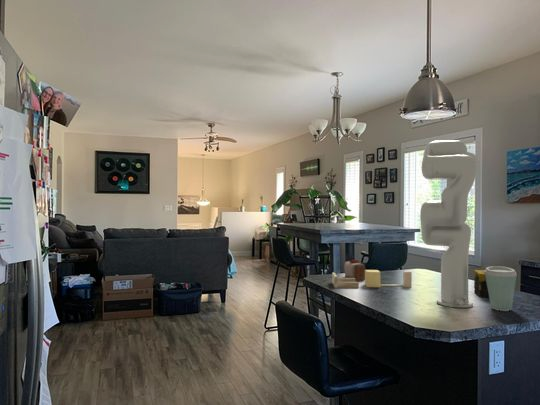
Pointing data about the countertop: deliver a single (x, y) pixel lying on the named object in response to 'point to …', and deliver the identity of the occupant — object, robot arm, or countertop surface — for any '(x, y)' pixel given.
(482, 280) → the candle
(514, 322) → the countertop surface
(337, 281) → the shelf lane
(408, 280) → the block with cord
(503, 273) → the disposable coffee cup
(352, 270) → the food item
